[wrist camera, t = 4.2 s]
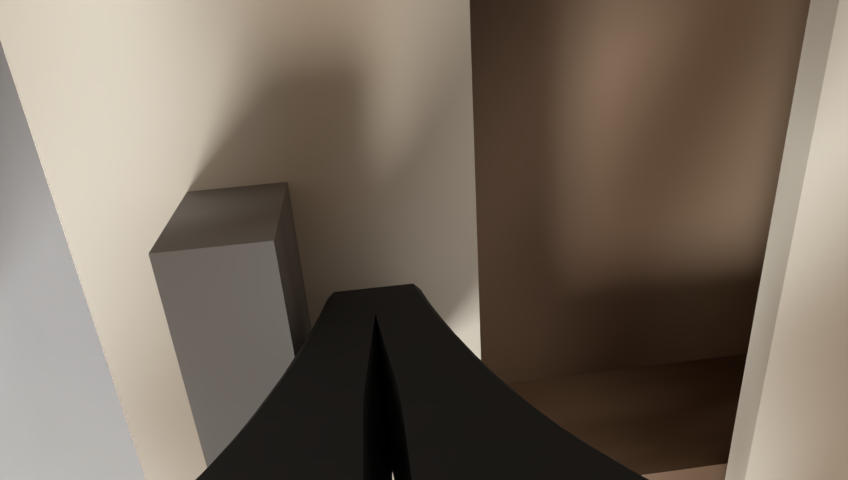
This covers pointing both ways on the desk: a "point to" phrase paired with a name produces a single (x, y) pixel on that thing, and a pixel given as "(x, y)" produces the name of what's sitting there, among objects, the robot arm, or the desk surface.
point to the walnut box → (629, 211)
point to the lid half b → (804, 282)
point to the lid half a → (246, 184)
